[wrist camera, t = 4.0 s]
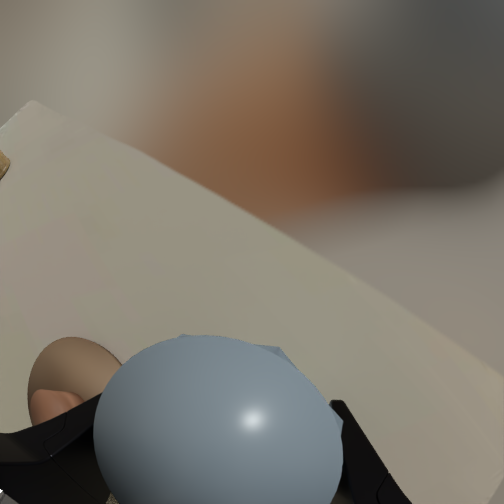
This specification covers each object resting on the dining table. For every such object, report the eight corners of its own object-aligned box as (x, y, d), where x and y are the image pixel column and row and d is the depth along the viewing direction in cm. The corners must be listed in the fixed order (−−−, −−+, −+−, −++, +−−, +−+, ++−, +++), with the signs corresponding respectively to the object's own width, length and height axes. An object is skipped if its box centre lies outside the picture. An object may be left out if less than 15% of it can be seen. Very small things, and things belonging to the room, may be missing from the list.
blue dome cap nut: (330, 420, 13) (393, 471, 4) (242, 480, 12) (189, 575, 3) (262, 340, 16) (230, 284, 7) (178, 400, 15) (61, 407, 6)
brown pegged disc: (167, 483, 12) (142, 501, 9) (52, 477, 12) (21, 482, 9) (124, 323, 17) (93, 309, 14) (25, 350, 17) (-6, 341, 13)
